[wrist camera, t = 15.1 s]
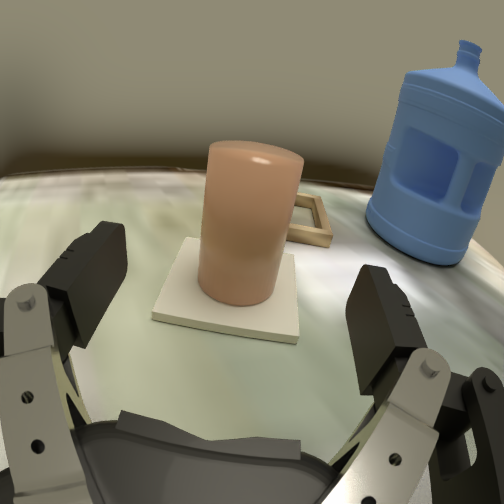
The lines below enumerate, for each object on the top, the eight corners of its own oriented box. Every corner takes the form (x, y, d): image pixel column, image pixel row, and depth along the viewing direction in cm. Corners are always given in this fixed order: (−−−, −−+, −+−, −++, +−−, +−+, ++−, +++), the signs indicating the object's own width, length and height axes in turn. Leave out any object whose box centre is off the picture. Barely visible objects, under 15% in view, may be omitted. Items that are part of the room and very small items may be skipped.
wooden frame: (317, 206, 41) (320, 196, 41) (329, 247, 33) (333, 235, 32) (240, 192, 41) (242, 182, 40) (230, 230, 32) (232, 217, 32)
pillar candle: (273, 250, 29) (295, 143, 24) (275, 310, 22) (310, 173, 17) (208, 240, 29) (220, 131, 24) (190, 298, 22) (201, 156, 17)
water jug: (357, 199, 47) (400, 28, 32) (441, 225, 46) (489, 69, 30) (372, 251, 34) (438, 8, 19) (476, 279, 33) (548, 75, 17)
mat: (291, 261, 29) (293, 254, 29) (296, 343, 21) (299, 336, 20) (185, 243, 29) (185, 236, 29) (152, 319, 21) (151, 311, 20)
